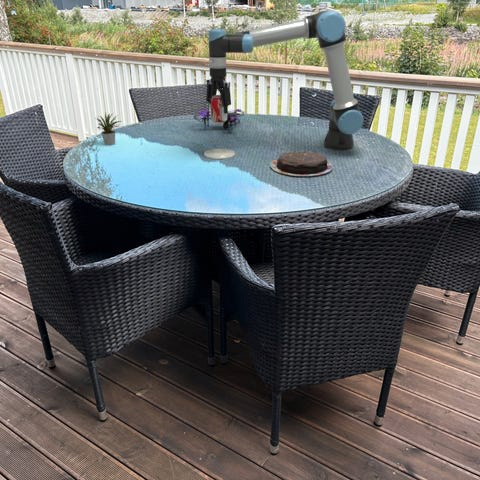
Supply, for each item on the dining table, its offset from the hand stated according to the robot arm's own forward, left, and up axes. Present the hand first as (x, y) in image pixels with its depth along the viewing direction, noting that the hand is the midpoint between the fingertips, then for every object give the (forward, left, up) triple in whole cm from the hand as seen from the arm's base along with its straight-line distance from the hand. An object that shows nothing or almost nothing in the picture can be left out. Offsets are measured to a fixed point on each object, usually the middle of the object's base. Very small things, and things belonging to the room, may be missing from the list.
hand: (218, 118), depth 215 cm
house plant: (+54, +29, -17) cm, 64 cm away
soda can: (0, 0, -2) cm, 2 cm away
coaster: (0, 0, -17) cm, 17 cm away
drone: (+38, -34, -18) cm, 54 cm away
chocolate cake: (-40, -13, -18) cm, 46 cm away
